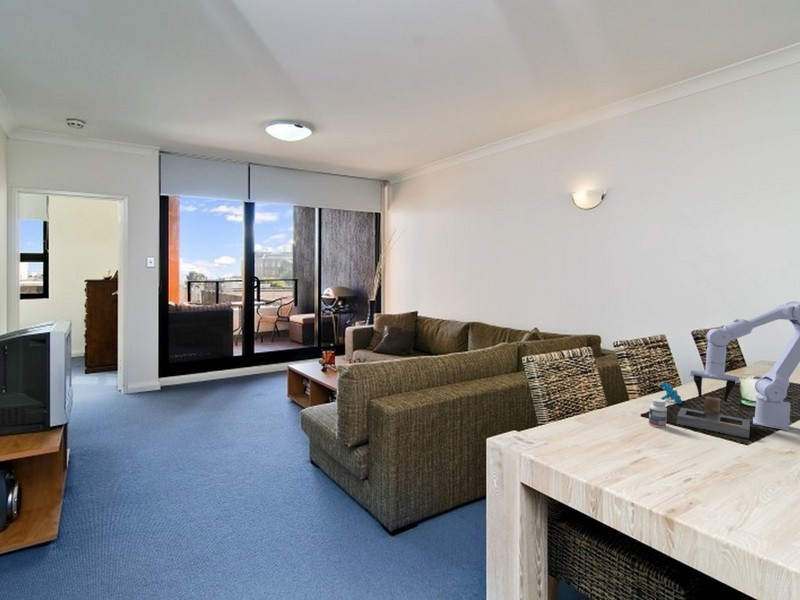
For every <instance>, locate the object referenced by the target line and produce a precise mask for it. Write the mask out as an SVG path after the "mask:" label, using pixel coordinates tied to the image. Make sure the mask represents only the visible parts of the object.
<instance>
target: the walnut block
mask: <svg viewBox="0 0 800 600" xmlns="http://www.w3.org/2000/svg"><path fill="white" fill-rule="evenodd" d="M720 410H721V398H717V397H712V396H705V398H704V409H703V412H709V413H714V414H720Z"/></svg>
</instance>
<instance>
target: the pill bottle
mask: <svg viewBox="0 0 800 600" xmlns="http://www.w3.org/2000/svg"><path fill="white" fill-rule="evenodd" d="M666 403H667V402H666V399H664V400H662V399H661V398H652V399H651V404H650V406H649V413H648V424H649V425H650V426H651V427H655V428H659V427H660V429H661V428H663V427H664V428H666V427H667V415H668V408H667V407H666ZM664 428H663V429H664Z"/></svg>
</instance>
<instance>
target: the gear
mask: <svg viewBox="0 0 800 600" xmlns="http://www.w3.org/2000/svg"><path fill="white" fill-rule="evenodd" d="M661 386H662V390H663V391H665V393H666V394H665V395H663V396H662V397H661V398H660V399H662V400H666V399H667V398H668V399H671V400H672V401H673V400H674V402H675V403H676V404H679V405H681V404H683V400H682V399H681V396H680V395H679V394H678V390H677V389H675V390H674V388H673V386H672V385H670V384H669V383H668V382H665V381H663V382H662V383H661Z"/></svg>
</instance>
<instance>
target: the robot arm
mask: <svg viewBox="0 0 800 600" xmlns="http://www.w3.org/2000/svg"><path fill="white" fill-rule="evenodd" d="M778 320H784V321H785V320H786V321H787V320H788V321H789V322H790V323H791V324H792V325H793V327H794V330H795V332H794V334H793V335H792V338H791V339H790V340H789V342H788V344H787V345H786V347H785V348H784V350H783V351H782V353H781V354H780V356H779V357H778V359H777V361H776V362H775V363H774V365H773V367H772V368H771V370H769V371H767V372H766V373H764V375H763V376H762V377H761V378H759V379H757V381H756V382H755V383H754V389H755V390H756V392H757V394H756V399H755V410H754V411H755V412H754V416H753V417H752V425H757V426H762V427H769V428H773V429H778V430H785V431H789V429H790V428H789V426H790V424H791V418H790V417H791V416H790V414H791V402H788V401H787V402H786V401H784V400H785V399H786V398H787V395H788V389H789V387H790V377H791V376H792V374H793V373H794V371H795V369H796V368H797V367H798V365H799V364H800V302H798V301H789V302H786V303H785V304H784V303H782V304H779V305H777V306H776V307H773V308H772V309H768V310H766V311H764V312H762V313H760V314H758V315H754V316H753V317H751V318H749V319H744V318H739V319H738V318H734V319H732V322H730V323H727V324H725V325H722V324H721V325H719V326H718V328H712V329H710V330H709V331H707V333H706V335H705V340H706V341H707V348H706V358H705V367H704V368H705V370H703V371H701V370H690V373H689V374H690V375H689V376H690V377H693V379H692V380H693V381H694V383H695V386H696V390H697V393H698V397H699V398H701V397H702V393H703V391H702V384H703V379H704V378H705V379H710V380H718V381H725V384H726V385H725V394H724V399H723V402H727V401H728V397H729V395H730V393H731V392H732V389H733V388H734V386H735V385H736V384H740V376H737V375H732V374H731V375H730V374H726V373H725V372H726V371H725V370H726V358H727V346H728V344H730V342H732V341H735V340H737V339H739V338H742V337H746V336H747V335H750V334H751V333H752V331H753V329H755V328H757V327H760V326H764V325H766V324H769V323H772V322H774V321H775V322H776V321H778Z"/></svg>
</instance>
